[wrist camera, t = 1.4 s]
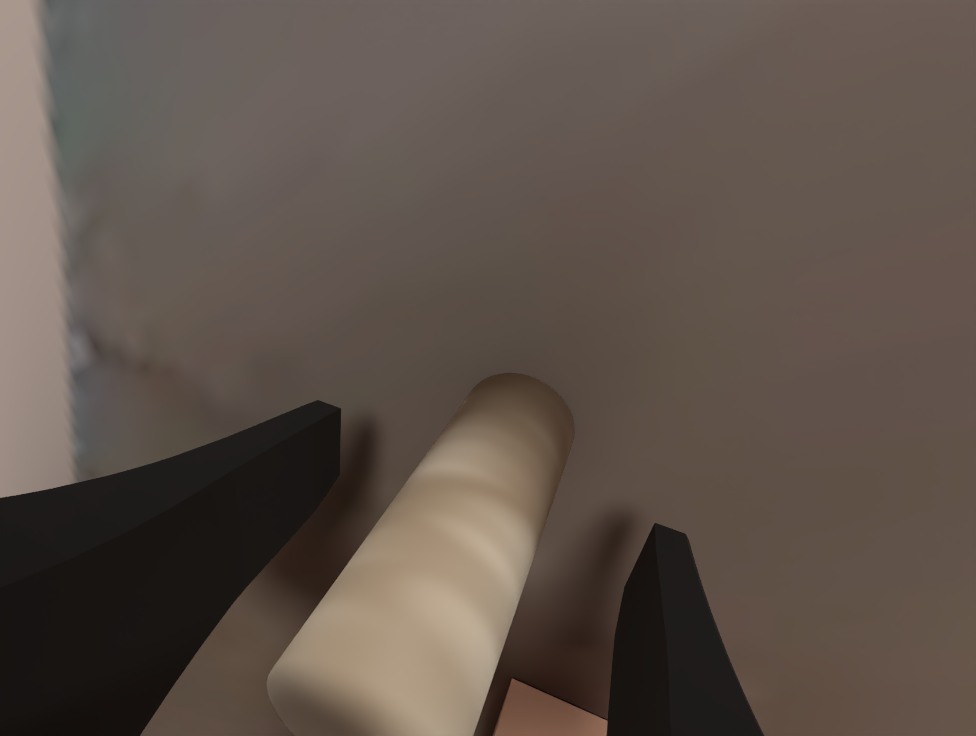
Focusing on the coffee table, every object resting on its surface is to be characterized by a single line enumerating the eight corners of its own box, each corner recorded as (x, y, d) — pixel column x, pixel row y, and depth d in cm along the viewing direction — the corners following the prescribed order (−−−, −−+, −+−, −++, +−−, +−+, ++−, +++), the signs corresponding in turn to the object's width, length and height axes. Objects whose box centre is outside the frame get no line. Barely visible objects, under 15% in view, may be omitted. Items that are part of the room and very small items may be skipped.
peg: (587, 395, 13) (473, 728, 6) (559, 484, 15) (443, 825, 8) (473, 358, 14) (260, 627, 7) (458, 447, 15) (272, 736, 8)
